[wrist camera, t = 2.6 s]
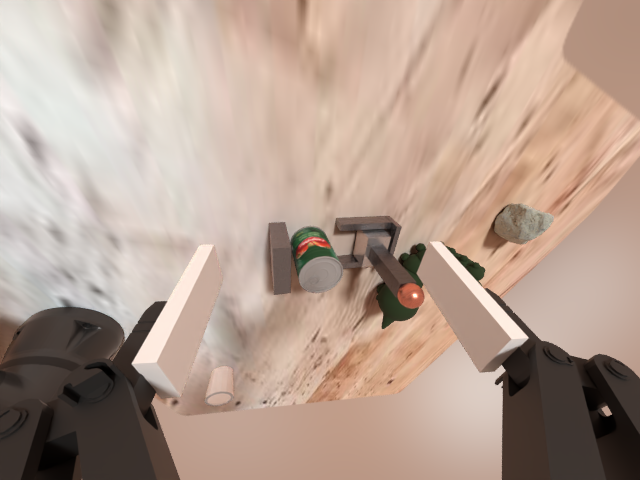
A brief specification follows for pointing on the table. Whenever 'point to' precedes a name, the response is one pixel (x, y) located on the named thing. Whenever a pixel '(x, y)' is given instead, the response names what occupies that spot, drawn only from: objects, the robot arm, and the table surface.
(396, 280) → the ball-tipped square rod
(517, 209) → the decorative stone
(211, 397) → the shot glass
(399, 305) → the toy figurine
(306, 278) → the canned tomato
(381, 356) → the table surface
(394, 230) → the press frame
